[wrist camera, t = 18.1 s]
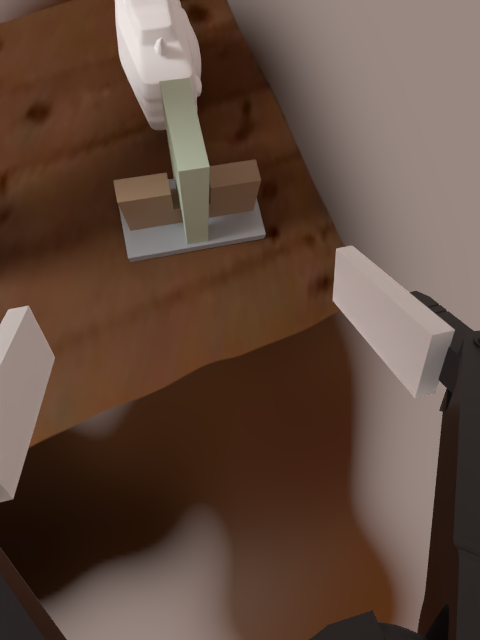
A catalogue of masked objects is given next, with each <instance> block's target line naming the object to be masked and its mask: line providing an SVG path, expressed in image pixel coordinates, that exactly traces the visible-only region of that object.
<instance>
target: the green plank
mask: <svg viewBox="0 0 480 640" xmlns="http://www.w3.org/2000/svg"><path fill="white" fill-rule="evenodd" d="M159 84H160V91H161V97H162V104H163V111H164V117H165V124H166V131H167V137H168V144H169V151H170V157H171V164H172V171H173V177H174V183H175V188H176V189H177V192H178V197H179V202H180V206H181V211H182V217H183V224H184V231H185V235H186V240H187V245H190V244H195V243H201V242H207V241H208V221H209V171H210V167H209V162H208V158H207V154H206V149H205V145H204V141H203V136H202V132H201V128H200V123H199V119H198V115H197V110H196V106H195V102H194V97H193V93H192V89H191V84H190V80H189V78H183V79H174V80H166V81H159Z"/></svg>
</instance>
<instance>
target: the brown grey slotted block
mask: <svg viewBox="0 0 480 640" xmlns="http://www.w3.org/2000/svg"><path fill="white" fill-rule="evenodd" d="M209 167H210V171H209V221H208V241H207V242H201V243H195V244H190V245H187V240H186V235H185V231H184V224H183V217H182V211H181V206H180V202H179V197H178V192H177V189H176V188H175V183H174V179H168V178H167V173H160V174H153V175H146V176H139V177H133V178H126V179H119V180H113V182H114V187H115V193H116V198H117V203H118V205H119V210H120V216H121V221H122V227H123V232H124V238H125V243H126V249H127V254H128V259H129V261H130V262H134V261H140V260H145V259H151V258H156V257H162V256H168V255H173V254H179V253H185V252H190V251H196V250H202V249H207V248H213V247H219V246H224V245H230V244H236V243H241V242H247V241H253V240H258V239H264V238H265V235H266V233H265V229H264V225H263V221H262V217H261V213H260V209H259V205H258V201H257V194H258V190H259V187H260V183H261V178H260V174H259V170H258V166H257V162H256V159H255V160H248V161H241V162H234V163H228V164H221V165H214V166H209Z"/></svg>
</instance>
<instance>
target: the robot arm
mask: <svg viewBox="0 0 480 640" xmlns="http://www.w3.org/2000/svg"><path fill="white" fill-rule="evenodd" d="M333 301H334V303H335V304H336V305H337V306H338V307H339V309H340V310H341V311H342V312H343V313H344V314H345V316H346V317H347V318H348V319H349V320H350V322H351V323H352V324H353V325H354V326H355V328H356V329H357V330H358V331H359V332H360V333H361V335H362V336H363V337H364V338H365V340H366V341H367V342H368V343H369V344H370V345H371V347H372V348H373V349H374V350H375V351H376V353H377V354H378V355H379V356H380V357H381V358H382V360H383V361H384V362H385V363H386V364H387V366H388V367H389V368H390V369H391V370H392V372H393V373H394V374H395V375H396V376H397V378H398V379H399V380H400V381H401V382H402V383H403V385H404V386H405V387H406V388H407V389H408V391H409V392H410V393H411V394H412V395H413V397H414V398H418V397H422V396H426V395H430V394H434V393H435V392H436V389H437V385H438V382H439V381H440V382H441V383H442V384H443V385H444V386H445V387H446V388H447V389H446V392H445V395H444V398H443V401H442V404H441V407H440V411H442V412H443V415H442V425H441V436H440V447H439V457H438V468H437V477H436V487H435V499H434V508H433V518H432V528H431V540H430V549H429V560H428V571H427V581H426V590H425V596H424V601H423V605H422V610H421V614H420V619H419V625H418V632H417V633H416V632H414V631H411V630H409V629H407V628H404V627H401V626H398V625H394V624H389V623H381V622H377V620H376V617H375V615H374V613H373V611H370V612H366V613H364V614H360V615H357V616H354V617H351V618H348V619H345V620H342V621H339V622H336V623H333V624H330V625H328V626H327V627H325V628H324V629H323V630H321V631H320V632H319V633H317V634H316V635H315V636H314V637H312V638H311V639H310V640H480V331H473V330H472V329H470V328H469V327H468V326H466V325H465V324H464V323H463V322H461V321H460V320H459V319H457V318H456V317H455V316H453V315H452V314H451V313H450V312H447V311H446V309H445V308H443V307H442V306H441V305H440V306H439V304H438V303H437V302H436V301H434V300H433V299H432V298H431V297H429V296H427V295H424V294H422V293H419V292H417V291H413V292H408V291H407V290H406V289H405V288H403V287H402V286H401V285H399V284H398V283H397V282H396V281H395V280H394V279H392V278H391V277H390V276H389V275H387V274H386V273H385V272H384V271H383V270H381V269H380V268H379V267H378V266H376V265H375V264H374V263H373V262H371V261H370V260H369V259H368V258H367V257H366V256H364V255H363V254H362V253H361V252H359V251H358V250H357V249H356V248H354V247H353V246H347V247H342V248H337V249H336V260H335V274H334V289H333ZM54 359H55V356H54V355H53V353H52V351H51V349H50V347H49V345H48V343H47V341H46V339H45V337H44V335H43V333H42V331H41V329H40V327H39V325H38V323H37V321H36V319H35V317H34V315H33V313H32V311H31V309H30V307H29V306H24V307H19V308H14V309H8V311H7V313H6V315H5V317H4V319H3V320H2V322H1V324H0V502H3V501H7V500H11V499H13V498H14V494H15V491H16V487H17V484H18V481H19V478H20V474H21V471H22V467H23V464H24V461H25V457H26V454H27V450H28V447H29V444H30V440H31V437H32V434H33V430H34V427H35V424H36V420H37V417H38V413H39V410H40V407H41V403H42V400H43V397H44V393H45V390H46V386H47V383H48V380H49V376H50V373H51V370H52V366H53V363H54ZM0 640H67V639H66V638H65V637H64V635H63V634H62V633H61V631H60V630H59V628H58V627H57V626H56V625H55V623H54V622H53V620H52V619H51V617H50V616H49V615H48V613H47V612H46V610H45V609H44V608H43V606H42V605H41V603H40V602H39V601H38V599H37V598H36V596H35V595H34V594H33V593H32V591H31V590H30V588H29V587H28V585H27V584H26V583H25V582H24V580H23V579H22V577H21V576H20V574H19V573H18V572H17V570H16V569H15V567H14V566H13V565H12V563H11V562H10V560H9V559H8V558H7V557H6V555H5V553H4V552H3V551H2V549H1V548H0Z"/></svg>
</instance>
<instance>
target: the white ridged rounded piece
mask: <svg viewBox="0 0 480 640" xmlns="http://www.w3.org/2000/svg"><path fill="white" fill-rule="evenodd" d="M115 16H116V30H117V39H118V49H119V56H120V60H121V64H122V66H123V69H124V71H125V73H126V76H127V78H128V80H129V82H130V85H131V87H132V89H133V91H134V93H135V96H136V98H137V100H138V102H139V104H140V106H141V108H142V110H143V112H144V115H145V117H146V119H147V121H148V123H149V125H150V127H151V128H152V129H154V130H166V124H165V117H164V111H163V104H162V97H161V91H160V84H159V81H166V80H174V79H183V78H189V80H190V84H191V89H192V93H193V97H194V102H195V106H196V110H197V97H198V96H200V94H201V91H202V84H201V80H200V78H201V56H200V49H199V44H198V41H197V38H196V35H195V33H194V31H193V29H192V27H191V25H190V23H189V20H188V17H187V14H186V12H185V11H184V10H183V9H182V8H181V4H180V1H179V0H115Z"/></svg>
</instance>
